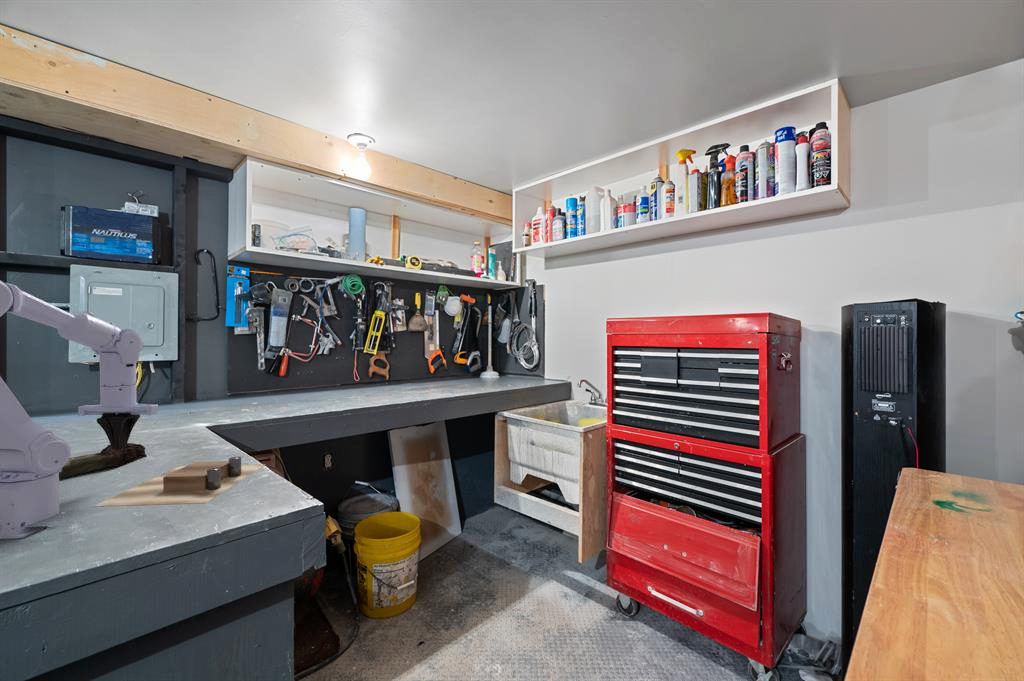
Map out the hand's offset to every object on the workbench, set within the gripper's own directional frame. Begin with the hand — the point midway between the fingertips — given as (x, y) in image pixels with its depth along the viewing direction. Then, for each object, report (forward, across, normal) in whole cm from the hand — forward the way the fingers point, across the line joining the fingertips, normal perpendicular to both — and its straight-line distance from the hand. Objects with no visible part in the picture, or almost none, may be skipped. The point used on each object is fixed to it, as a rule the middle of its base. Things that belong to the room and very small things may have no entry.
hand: (119, 448), depth 91 cm
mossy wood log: (+10, +18, -16) cm, 26 cm away
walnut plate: (+8, -16, 0) cm, 18 cm away
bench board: (+9, -14, -1) cm, 17 cm away
